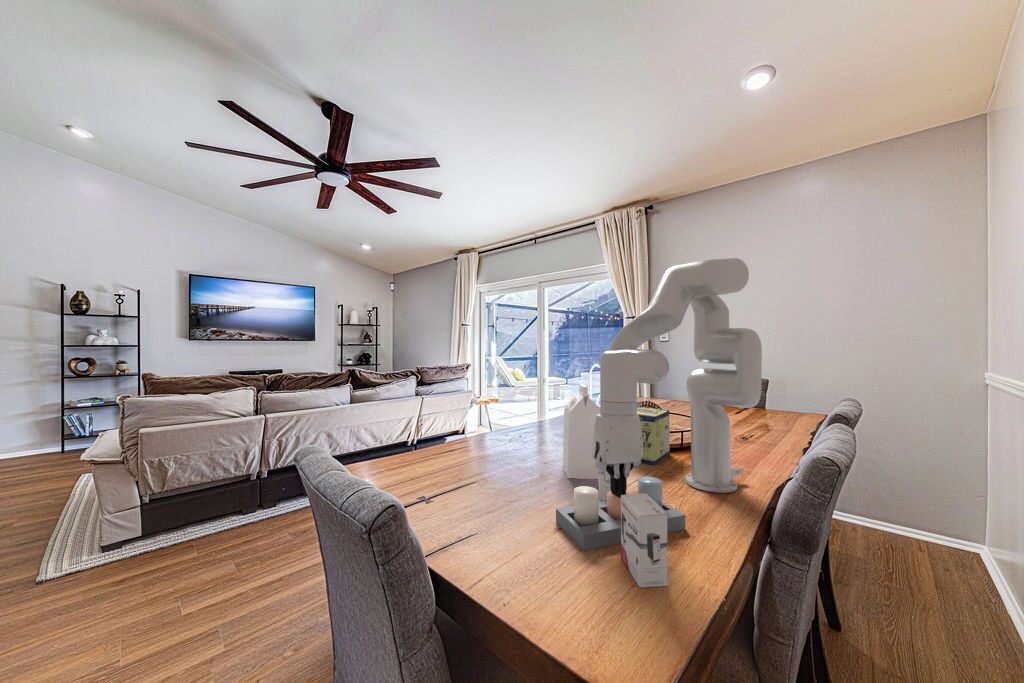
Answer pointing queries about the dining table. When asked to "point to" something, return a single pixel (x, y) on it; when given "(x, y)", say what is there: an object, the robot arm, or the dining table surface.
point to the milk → (579, 436)
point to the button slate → (651, 488)
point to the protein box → (654, 434)
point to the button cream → (586, 505)
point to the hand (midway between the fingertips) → (618, 494)
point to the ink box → (644, 539)
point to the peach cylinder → (614, 505)
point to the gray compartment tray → (606, 526)
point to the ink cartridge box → (603, 484)
